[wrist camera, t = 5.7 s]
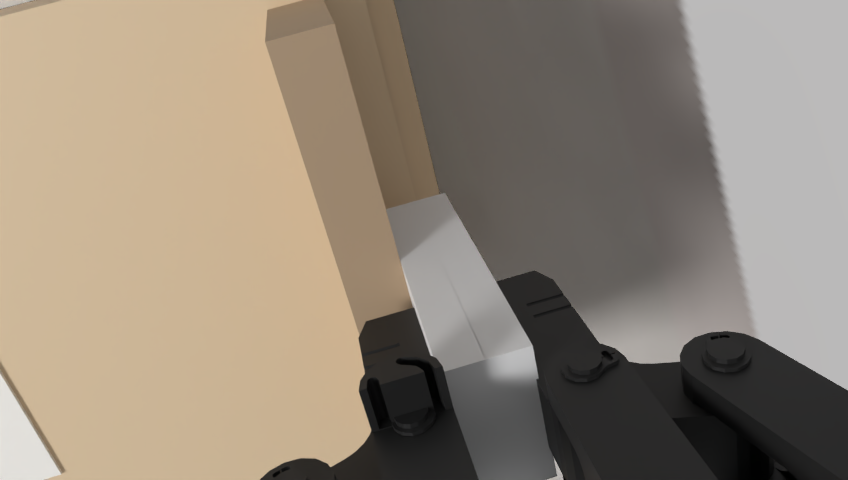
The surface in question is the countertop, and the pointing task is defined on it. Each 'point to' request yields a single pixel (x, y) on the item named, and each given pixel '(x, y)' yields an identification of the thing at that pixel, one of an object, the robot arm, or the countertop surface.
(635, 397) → the robot arm
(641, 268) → the countertop surface
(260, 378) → the lid
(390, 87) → the box
